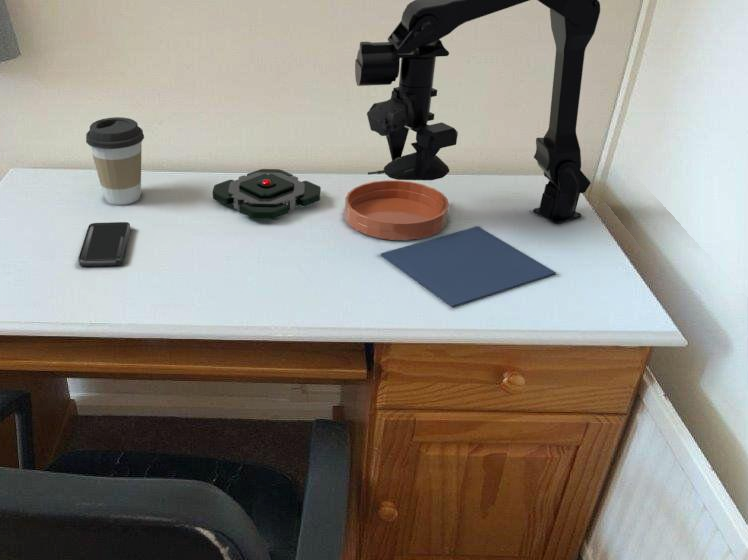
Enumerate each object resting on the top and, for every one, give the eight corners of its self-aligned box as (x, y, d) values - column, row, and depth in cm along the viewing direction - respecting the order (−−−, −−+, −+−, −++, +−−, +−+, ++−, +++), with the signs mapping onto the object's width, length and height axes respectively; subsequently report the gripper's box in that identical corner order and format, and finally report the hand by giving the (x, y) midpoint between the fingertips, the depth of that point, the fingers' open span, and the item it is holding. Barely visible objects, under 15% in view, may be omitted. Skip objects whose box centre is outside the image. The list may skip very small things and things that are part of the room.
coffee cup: (121, 182, 165) (112, 111, 156) (162, 194, 159) (155, 122, 150) (83, 201, 158) (71, 128, 148) (123, 214, 152) (114, 139, 143)
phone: (77, 261, 135) (89, 222, 147) (78, 267, 135) (90, 228, 147) (122, 260, 135) (131, 221, 147) (123, 265, 136) (131, 227, 147)
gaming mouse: (365, 166, 145) (367, 146, 142) (445, 166, 145) (448, 145, 142) (369, 182, 140) (371, 161, 137) (451, 181, 140) (454, 160, 137)
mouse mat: (477, 228, 145) (477, 226, 145) (555, 274, 131) (556, 272, 131) (380, 255, 137) (380, 253, 137) (452, 307, 123) (452, 305, 123)
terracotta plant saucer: (406, 190, 159) (407, 173, 157) (467, 226, 146) (470, 209, 143) (325, 209, 152) (326, 192, 150) (382, 250, 139) (384, 232, 137)
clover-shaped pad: (204, 200, 157) (203, 178, 154) (270, 176, 166) (270, 155, 163) (262, 229, 146) (261, 207, 143) (329, 202, 155) (330, 180, 152)
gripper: (346, 76, 136) (342, 162, 145) (409, 106, 122) (400, 198, 132) (398, 66, 140) (391, 151, 149) (465, 94, 126) (452, 185, 136)
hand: (406, 170), depth 141 cm, fingers closed on gaming mouse, 7 cm apart
